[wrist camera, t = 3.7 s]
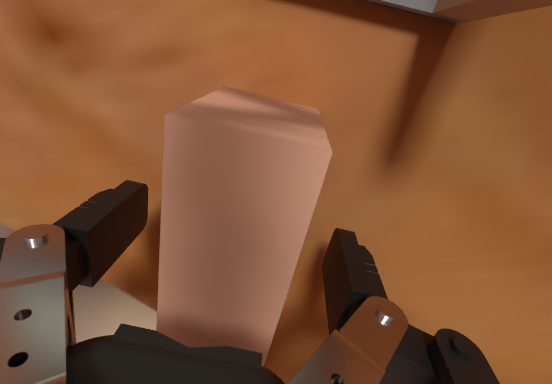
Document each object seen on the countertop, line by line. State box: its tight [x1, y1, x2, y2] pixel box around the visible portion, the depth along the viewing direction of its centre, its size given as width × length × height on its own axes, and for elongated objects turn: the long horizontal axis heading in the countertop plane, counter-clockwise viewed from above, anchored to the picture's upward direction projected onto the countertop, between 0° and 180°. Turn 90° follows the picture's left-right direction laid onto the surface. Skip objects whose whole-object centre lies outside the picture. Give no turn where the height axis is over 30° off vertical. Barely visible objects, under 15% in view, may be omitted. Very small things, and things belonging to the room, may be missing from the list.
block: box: [157, 87, 332, 366], centre depth 12 cm, size 4×10×6 cm, turn 168°
